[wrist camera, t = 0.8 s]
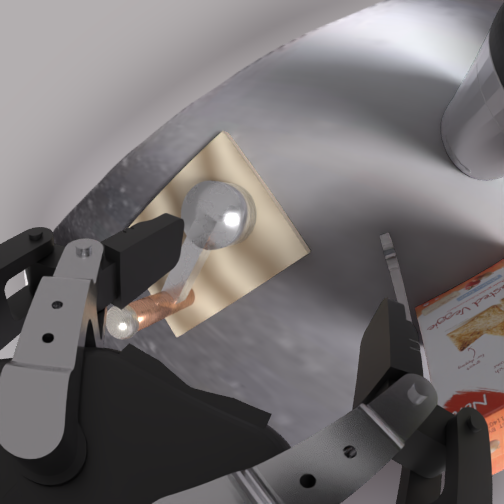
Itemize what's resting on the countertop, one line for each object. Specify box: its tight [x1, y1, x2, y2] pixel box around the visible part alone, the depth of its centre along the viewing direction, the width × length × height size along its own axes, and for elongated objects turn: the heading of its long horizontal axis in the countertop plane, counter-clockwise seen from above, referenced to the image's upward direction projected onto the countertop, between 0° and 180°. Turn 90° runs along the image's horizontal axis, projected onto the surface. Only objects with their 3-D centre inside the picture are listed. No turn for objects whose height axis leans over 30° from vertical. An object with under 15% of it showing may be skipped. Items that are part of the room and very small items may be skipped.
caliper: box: [380, 232, 412, 322], centre depth 26 cm, size 20×1×6 cm, turn 21°
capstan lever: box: [106, 181, 257, 339], centre depth 29 cm, size 17×7×13 cm, turn 149°
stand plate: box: [128, 131, 311, 337], centre depth 37 cm, size 22×17×2 cm
